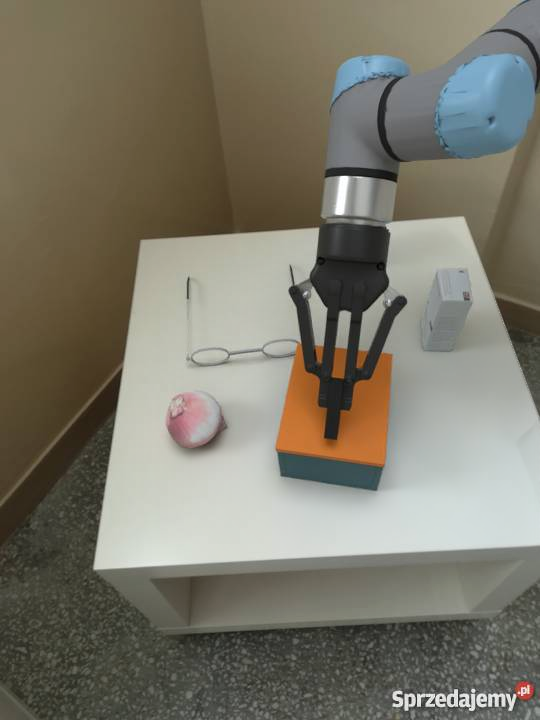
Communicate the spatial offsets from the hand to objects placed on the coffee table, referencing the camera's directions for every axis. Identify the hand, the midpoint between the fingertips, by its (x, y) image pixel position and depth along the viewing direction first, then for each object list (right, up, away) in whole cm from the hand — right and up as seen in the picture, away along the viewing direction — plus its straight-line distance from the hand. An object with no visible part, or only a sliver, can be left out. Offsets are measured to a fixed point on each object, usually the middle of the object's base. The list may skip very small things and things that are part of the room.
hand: (331, 435), depth 61 cm
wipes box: (+2, -1, +12) cm, 13 cm away
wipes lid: (+1, +3, +5) cm, 6 cm away
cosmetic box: (+18, +12, +20) cm, 30 cm away
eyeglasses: (-11, +16, +25) cm, 32 cm away
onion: (-17, -1, +14) cm, 22 cm away
